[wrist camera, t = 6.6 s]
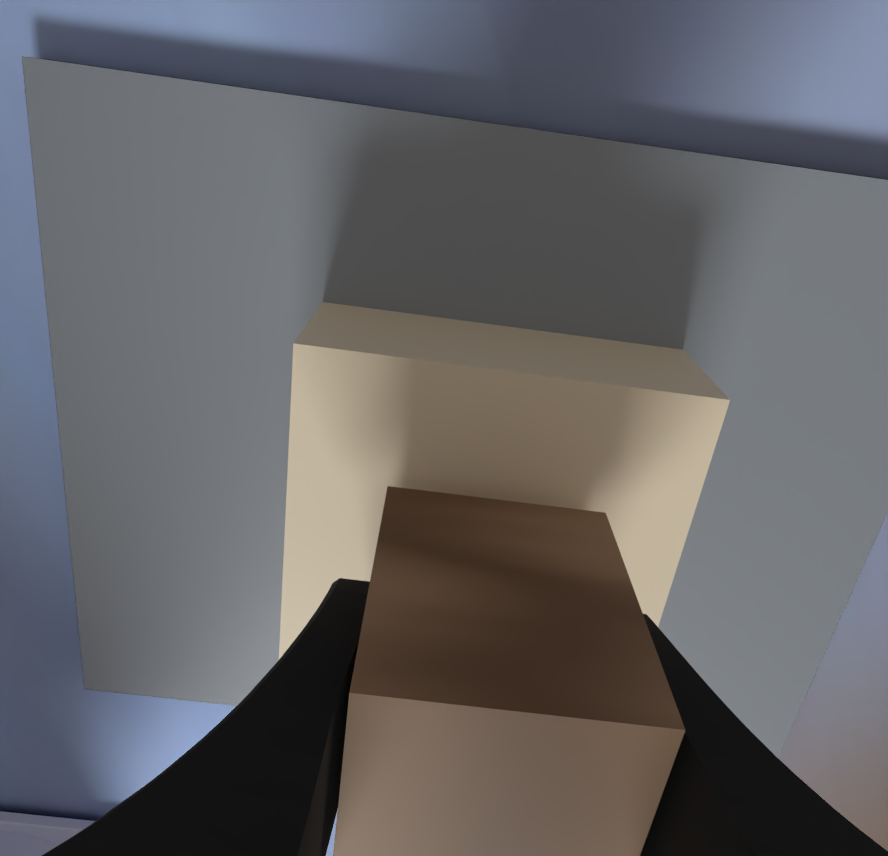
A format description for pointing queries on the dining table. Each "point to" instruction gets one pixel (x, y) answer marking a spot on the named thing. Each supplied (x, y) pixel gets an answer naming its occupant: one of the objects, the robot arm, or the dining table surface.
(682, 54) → the dining table surface
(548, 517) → the walnut block
